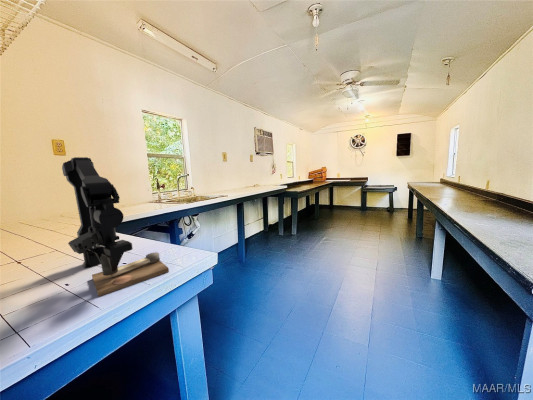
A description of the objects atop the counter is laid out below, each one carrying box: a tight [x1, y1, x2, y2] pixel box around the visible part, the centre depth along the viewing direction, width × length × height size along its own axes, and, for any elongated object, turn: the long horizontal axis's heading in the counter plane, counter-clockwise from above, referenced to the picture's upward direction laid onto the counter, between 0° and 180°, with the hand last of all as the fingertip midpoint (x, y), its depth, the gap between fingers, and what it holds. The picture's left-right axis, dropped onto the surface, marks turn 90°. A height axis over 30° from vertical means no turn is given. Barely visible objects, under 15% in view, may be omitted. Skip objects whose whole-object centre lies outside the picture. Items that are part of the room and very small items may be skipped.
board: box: [91, 260, 170, 297], centre depth 75 cm, size 15×20×2 cm
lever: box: [100, 251, 161, 277], centre depth 76 cm, size 18×4×8 cm, turn 147°
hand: (109, 269), depth 70 cm, fingers open, 5 cm apart
